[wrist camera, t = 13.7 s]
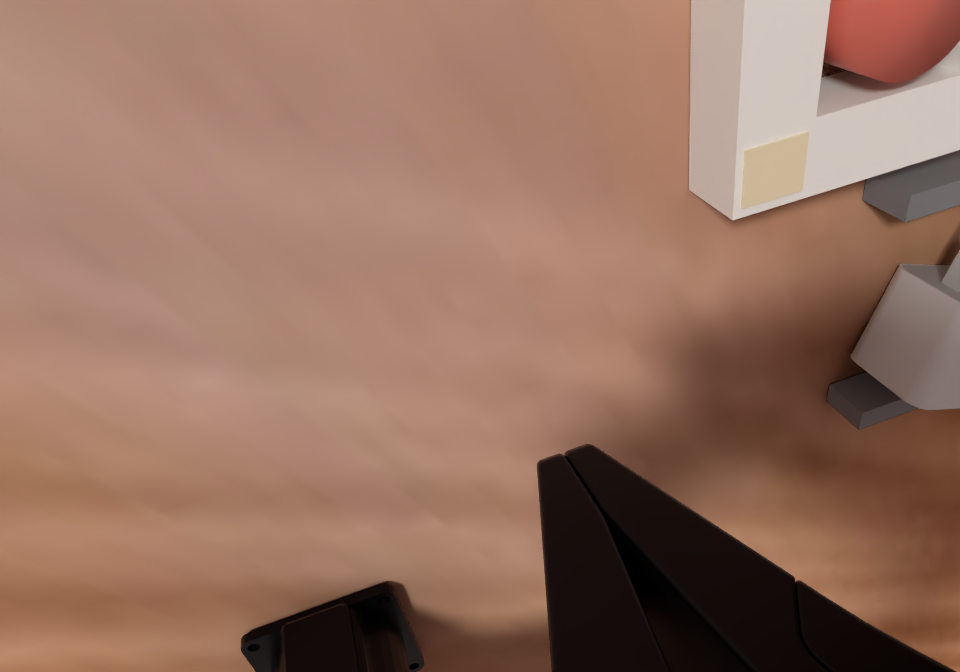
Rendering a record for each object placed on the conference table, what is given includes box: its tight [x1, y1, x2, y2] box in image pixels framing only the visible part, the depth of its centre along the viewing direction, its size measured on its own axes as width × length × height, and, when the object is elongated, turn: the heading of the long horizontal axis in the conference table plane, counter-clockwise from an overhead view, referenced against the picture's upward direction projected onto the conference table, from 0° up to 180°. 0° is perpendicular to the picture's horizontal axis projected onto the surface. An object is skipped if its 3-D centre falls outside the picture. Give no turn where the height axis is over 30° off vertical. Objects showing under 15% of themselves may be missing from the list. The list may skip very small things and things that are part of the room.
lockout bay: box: [827, 150, 960, 430], centre depth 27 cm, size 11×7×2 cm, turn 10°
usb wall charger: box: [851, 250, 960, 410], centre depth 27 cm, size 4×7×4 cm, turn 169°
